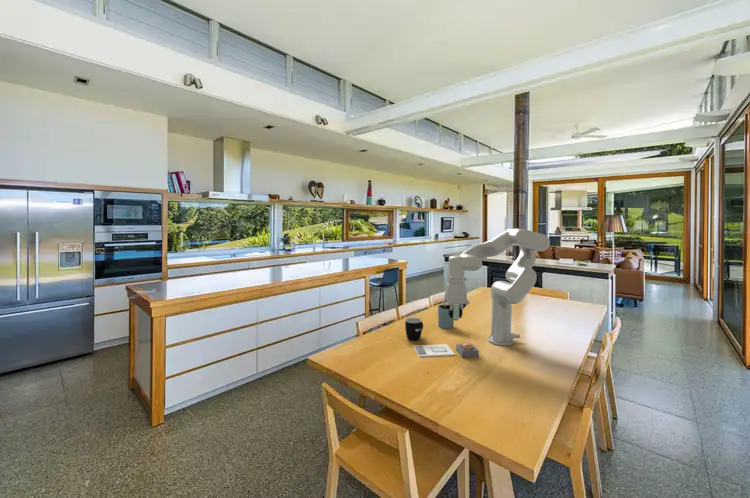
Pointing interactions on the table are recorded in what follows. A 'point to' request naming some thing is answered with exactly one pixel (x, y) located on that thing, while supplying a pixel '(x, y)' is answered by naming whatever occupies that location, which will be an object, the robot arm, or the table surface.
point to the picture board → (433, 350)
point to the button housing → (467, 351)
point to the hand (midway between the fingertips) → (455, 317)
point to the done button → (467, 346)
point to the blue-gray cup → (444, 318)
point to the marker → (456, 311)
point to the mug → (413, 328)
